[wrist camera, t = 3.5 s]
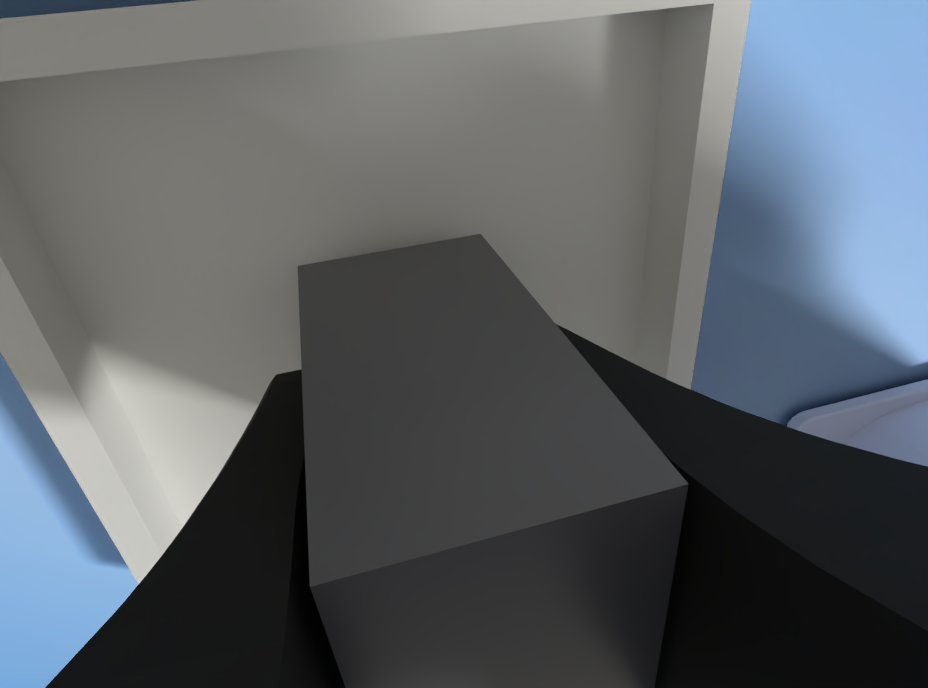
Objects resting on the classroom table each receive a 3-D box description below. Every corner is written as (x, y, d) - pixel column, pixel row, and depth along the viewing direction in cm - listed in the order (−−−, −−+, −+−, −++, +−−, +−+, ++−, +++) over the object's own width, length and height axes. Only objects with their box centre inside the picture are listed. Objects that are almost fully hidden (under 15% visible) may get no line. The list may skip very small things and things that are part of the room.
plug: (493, 421, 12) (646, 732, 7) (345, 455, 11) (393, 821, 6) (480, 233, 10) (688, 483, 5) (297, 265, 9) (310, 585, 4)
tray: (633, 463, 15) (671, 513, 14) (190, 578, 13) (178, 651, 12) (684, -44, 9) (759, -52, 8) (-94, 28, 8) (-190, 36, 6)
